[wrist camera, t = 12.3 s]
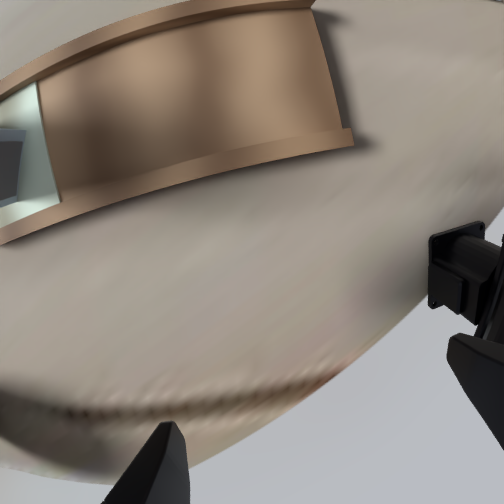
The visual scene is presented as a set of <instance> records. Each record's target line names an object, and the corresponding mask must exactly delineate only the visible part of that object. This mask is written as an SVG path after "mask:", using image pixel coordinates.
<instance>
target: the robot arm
mask: <svg viewBox="0 0 504 504" xmlns="http://www.w3.org/2000/svg"><path fill="white" fill-rule="evenodd" d="M484 236H485V224H484V223H483V222H481V221H477V222H474V223H470V224H467V225H464V226H461V227H458V228H454V229H451V230H448V231H445V232H441V233H438V234H435V235H432V236H431V237H430V238H429V242H428V243H429V266H428V306H429V307H430V308H431V309H435V308H438V307H440V306H443V305H445V306H446V307H448V308H449V309H450V310H452V311H453V312H454V313H456V314H457V315H459V314H461V315H462V316H464V317H465V318H466V319H467V320H469V321H470V322H471V323H473V324H474V325H475V326H476V325H478V326H477V329H476V332H475V334H474V336H470V335H467V334H463V333H458V334H456V335H454V336H452V337H450V339H449V343H448V349H447V361H448V364H449V365H450V367H451V369H452V370H453V372H454V374H455V376H456V377H457V379H458V381H459V383H460V385H461V386H462V388H463V390H464V392H465V393H466V395H467V396H468V398H469V399H470V401H471V402H472V404H473V405H474V407H475V408H476V409H477V411H478V412H479V414H480V415H481V417H482V418H483V420H484V421H485V423H486V424H487V426H488V427H489V429H490V430H491V431H492V433H493V435H494V436H495V438H496V439H497V441H498V442H499V444H500V445H501V447H502V449H503V450H504V234H503V237H502V242H503V243H502V247H499V246H497V245H495V244H493V243H491V242H488V241H486V240H485V237H484ZM435 240H436V241H435ZM434 241H435V243H434ZM101 504H190V480H189V471H188V462H187V453H186V443H185V439H184V436H183V435H182V433H181V431H180V430H179V428H178V426H177V425H176V423H175V422H174V421H165V422H161V423H160V424H159V425H158V426H157V428H156V429H155V430H154V432H153V433H152V435H151V436H150V437H149V439H148V440H147V442H146V443H145V444H144V446H143V447H142V448H141V450H140V451H139V453H138V454H137V455H136V457H135V458H134V460H133V461H132V462H131V464H130V465H129V466H128V468H127V469H126V471H125V472H124V473H123V475H122V476H121V477H120V479H119V480H118V481H117V483H116V484H115V486H114V487H113V489H112V490H111V491H110V492H109V494H108V495H107V496H106V498H105V499H104V501H103V502H102V503H101Z"/></svg>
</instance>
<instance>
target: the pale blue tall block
mask: <svg viewBox="0 0 504 504" xmlns="http://www.w3.org/2000/svg"><path fill="white" fill-rule="evenodd" d="M25 135H26V130H17V129H2V128H0V208H1V207H4V206H7V205H10V204H13V203H16V202H17V197H18V186H19V176H20V168H21V160H22V153H23V147H24V141H25Z"/></svg>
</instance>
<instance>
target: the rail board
mask: <svg viewBox="0 0 504 504" xmlns="http://www.w3.org/2000/svg"><path fill="white" fill-rule="evenodd" d="M314 2H315V0H190V1H185V2H181V3H177V4H173V5H169V6H166V7H162V8H158V9H155V10H151V11H148V12H145V13H142V14H139V15H135V16H132V17H129V18H127V19H124V20H121V21H118V22H115V23H113V24H110V25H107V26H105V27H102V28H100V29H97V30H95V31H92V32H90V33H88V34H85V35H83V36H81V37H79V38H76V39H74V40H72V41H70V42H68V43H66V44H64V45H62V46H60V47H58V48H56V49H54V50H52V51H50V52H48V53H46V54H44V55H42V56H40V57H38V58H37V59H35V60H33V61H31V62H30V63H28V64H26V65H24V66H23V67H21V68H19V69H18V70H16V71H14V72H13V73H11V74H10V75H8V76H6V77H5V78H3V79H2V80H0V128H2V129H17V130H26V135H25V141H24V147H23V153H22V160H21V168H20V176H19V186H18V197H17V202H16V203H13V204H10V205H7V206H4V207H1V208H0V245H2V244H4V243H7V242H9V241H11V240H14V239H16V238H19V237H21V236H24V235H26V234H29V233H31V232H34V231H36V230H39V229H41V228H44V227H47V226H49V225H52V224H55V223H57V222H60V221H63V220H66V219H68V218H71V217H74V216H77V215H80V214H82V213H85V212H88V211H91V210H94V209H97V208H100V207H103V206H106V205H109V204H112V203H115V202H118V201H122V200H125V199H128V198H131V197H134V196H138V195H141V194H144V193H148V192H151V191H154V190H158V189H161V188H165V187H168V186H172V185H175V184H179V183H183V182H186V181H190V180H194V179H198V178H201V177H205V176H209V175H213V174H217V173H221V172H225V171H229V170H233V169H238V168H242V167H246V166H251V165H255V164H259V163H264V162H269V161H273V160H278V159H283V158H288V157H293V156H298V155H303V154H308V153H313V152H319V151H324V150H330V149H336V148H342V147H348V146H354V142H353V137H352V131H351V128H345V129H342V124H341V119H340V115H339V110H338V106H337V101H336V97H335V93H334V88H333V84H332V80H331V76H330V72H329V69H328V65H327V61H326V57H325V54H324V50H323V47H322V43H321V40H320V36H319V33H318V29H317V26H316V23H315V20H314V17H313V13H312V10H311V6H312V4H313V3H314Z"/></svg>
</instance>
